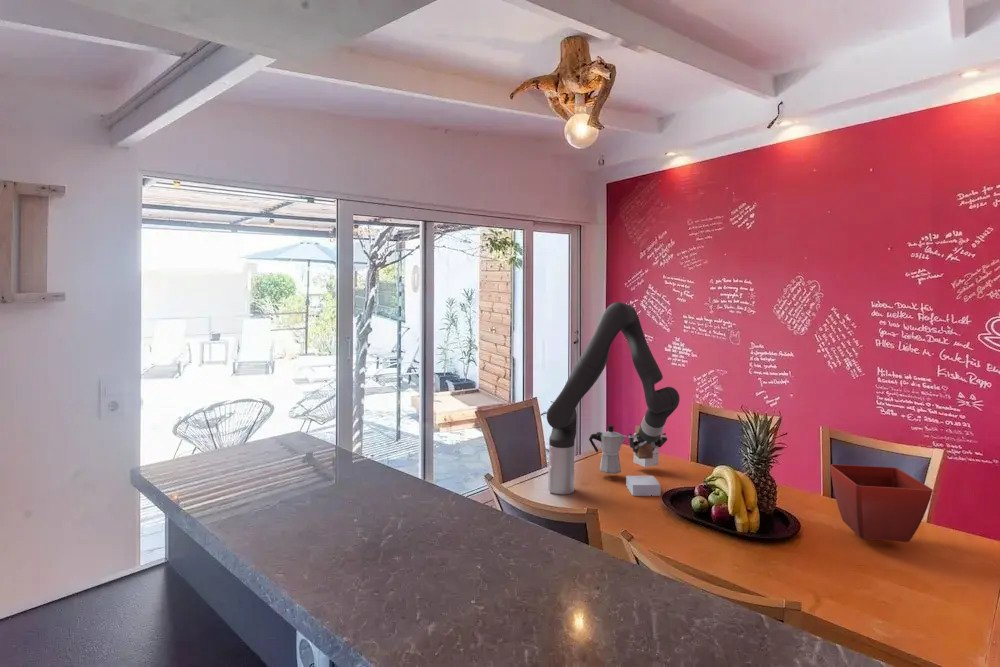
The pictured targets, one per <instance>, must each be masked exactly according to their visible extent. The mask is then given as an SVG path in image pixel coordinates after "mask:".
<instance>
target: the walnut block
mask: <svg viewBox="0 0 1000 667" xmlns="http://www.w3.org/2000/svg"><path fill="white" fill-rule="evenodd" d="M639 428H640V425H635V433H636V434H637V433H638V432H639ZM635 440H636V439H635ZM635 455H636V456H637V457H638V458H639V459H653V447H652V444H648V443H646V444H643V445H642V446H640V447H639V448H638V450H637V453H635Z"/></svg>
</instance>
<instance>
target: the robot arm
mask: <svg viewBox="0 0 1000 667" xmlns="http://www.w3.org/2000/svg"><path fill="white" fill-rule="evenodd" d="M619 332H621V333H622V334H623V336H624V337H625V339H626V341H627V344H628V346H629V348H630V349H629V350H630V355H631V359H632V365H633V366H634V368H635V372H636V373H637V375H638V377H639V379H640V381H641V385H642V388H643V393H644V399H645V403H646V407H647V409H646V411H645V414H644V417H643V418H642V420H641V423H640V425H639V426H640V428H639V432H638V433H637V434H636V435H634V434H632V433H628V434H627V435H628V436H627V437H628V442H629V447H630V448H631V449H632V452H633V454H634V453H637V450H638V448H639V447H640V446H642V445H643V444H646V443H648V444H652V447H653V451H654V449H655V448H656V447H657V446H658V447H659V448H661V447H663V445H665V443H667V441H668V437H667V433H666V432H665V433H663V431H664V429H665V425H666V422H667V420H668V418H669V417H670V416H671V415H672V414H673V413H674V412H675V410H677V408H678V406H679V404H680V401H681V400H680V394H679V392H678V390H677V389H676V388H675V387H672V386H666V387H662V388H660V389H659V388H658V389H655V385H656V384H658V383H659V382H661V381H662V380H663V378H664V377H663V373H662V371H661V368H660V367H659V364H658V363H657V361H656V359H655V357H654V355H653V353H652V351H651V349H650V347H649V345H648V342H647V340H646V337H645V334H644V331H643V328H642V325H641V321H640V319H639V315H638V312H637V310H636V309H635V307H633V306H632V305H631V304H627V303H624V302H620V301H616V302H612V303H611V304H609V305H608V306H607V308H606V309H605V310H604V312H603V315H602V316H601V318H600V322H598V325H597V326H596V330H595V332H594V334H593V336H592V337H591V338H590V340H589V342H588V344H587V346H586V347H585V349H584V350H583V352H582V354H581V355H580V357H579V358H578V360H577V362H576V363H575V365H574V367H573V368H572V371H571V373H570V375H569V377H568V378H567V381H566V382H565V385H564V387H563V388H562V390H561V391H560V393H559V395H557V396H556V398H555V400H554V401H553V402H552V403H551V405H550V406H549V408H548V410H547V411H546V420H547V421H546V422H547V423H548V425H549V426H550V427H551V428H552V430H551V433H550V435H549V438H548V443H549V444H548V451H549V452H548V461H549V462H548V472H547V473H548V474H547V475H548V477H547V478H548V483H547V484H548V486H547V488H548V490H549V491H548V492H549V493H550V494H555V495H570V494H573V493H574V491H575V440H576V436H577V423H578V422H577V421H578V420H577V418H578V417H577V409H576V408H577V406H578V404H579V403H580V401H581V400H582V399H583V398H584V397H585V395H586V394H587V393H588V392H589V391H590V390H591V389H592V387H593V386H594V385H595V383H596V382H597V381H598V379H599V377H600V376H601V374H603V371H604V370H605V368H606V366H607V363H608V358H609V353H610V349H611V345H612V343H613V342H614V340H615V339H616V337H617V335H618V334H619ZM635 439H636V440H635ZM634 440H635V441H634ZM655 441H656V442H655Z"/></svg>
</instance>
